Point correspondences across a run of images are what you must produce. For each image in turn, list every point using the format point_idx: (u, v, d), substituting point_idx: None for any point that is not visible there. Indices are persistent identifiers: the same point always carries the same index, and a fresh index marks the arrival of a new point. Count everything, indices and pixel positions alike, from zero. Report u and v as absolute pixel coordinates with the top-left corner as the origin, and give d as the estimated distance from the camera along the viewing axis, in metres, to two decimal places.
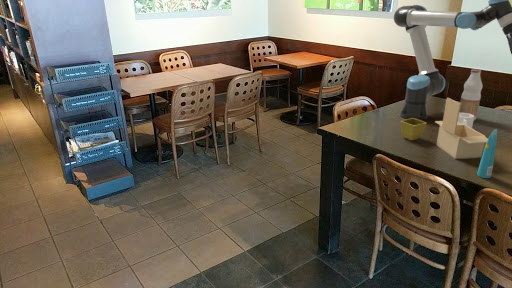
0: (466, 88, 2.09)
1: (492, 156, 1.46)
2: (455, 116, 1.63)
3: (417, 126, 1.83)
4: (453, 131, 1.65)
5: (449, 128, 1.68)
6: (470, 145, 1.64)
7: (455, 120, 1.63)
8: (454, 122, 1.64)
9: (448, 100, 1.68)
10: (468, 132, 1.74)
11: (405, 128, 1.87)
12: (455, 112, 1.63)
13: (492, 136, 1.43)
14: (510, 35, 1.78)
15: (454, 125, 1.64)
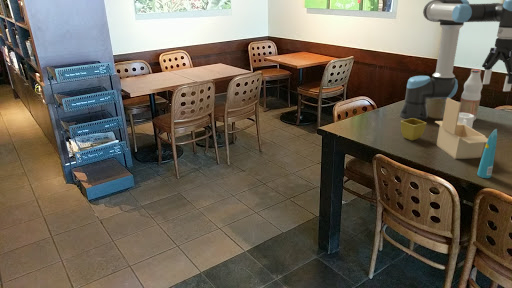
0: (466, 88, 2.09)
1: (492, 156, 1.46)
2: (455, 116, 1.63)
3: (417, 126, 1.83)
4: (453, 131, 1.65)
5: (449, 128, 1.68)
6: (470, 145, 1.64)
7: (455, 120, 1.63)
8: (454, 122, 1.64)
9: (448, 100, 1.68)
10: (468, 132, 1.74)
11: (405, 128, 1.87)
12: (455, 112, 1.63)
13: (492, 136, 1.43)
14: None
15: (454, 125, 1.64)
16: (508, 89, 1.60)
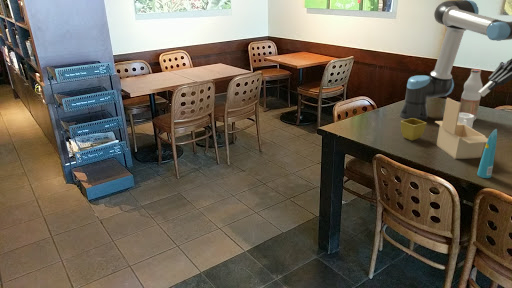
0: (466, 88, 2.09)
1: (492, 156, 1.46)
2: (455, 116, 1.63)
3: (417, 126, 1.83)
4: (453, 131, 1.65)
5: (449, 128, 1.68)
6: (470, 145, 1.64)
7: (455, 120, 1.63)
8: (454, 122, 1.64)
9: (448, 100, 1.68)
10: (468, 132, 1.74)
11: (405, 128, 1.87)
12: (455, 112, 1.63)
13: (492, 136, 1.43)
14: None
15: (454, 125, 1.64)
16: (483, 94, 1.63)
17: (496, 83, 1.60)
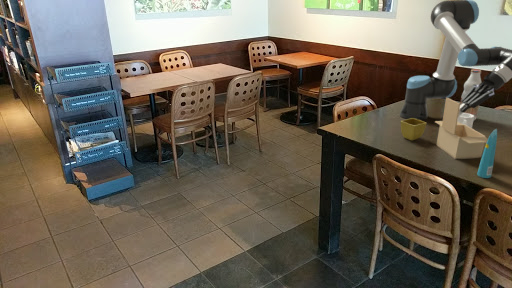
0: (466, 88, 2.09)
1: (492, 156, 1.46)
2: (455, 116, 1.63)
3: (417, 126, 1.83)
4: (453, 131, 1.65)
5: (449, 128, 1.68)
6: (470, 145, 1.64)
7: (455, 120, 1.63)
8: (454, 122, 1.64)
9: (447, 100, 1.68)
10: (468, 132, 1.74)
11: (405, 128, 1.87)
12: (454, 112, 1.63)
13: (492, 136, 1.43)
14: None
15: (454, 125, 1.64)
16: None
17: (468, 106, 1.63)
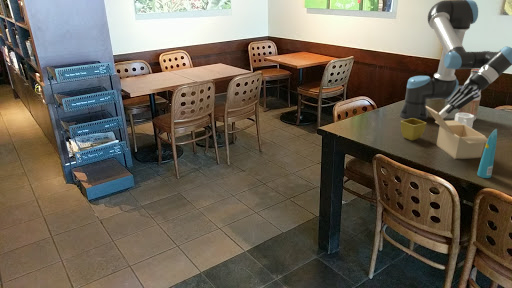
0: None
1: (492, 156, 1.46)
2: (442, 122, 1.64)
3: (417, 126, 1.83)
4: (451, 132, 1.65)
5: (446, 129, 1.68)
6: (470, 145, 1.64)
7: (445, 124, 1.64)
8: (445, 126, 1.64)
9: (428, 109, 1.69)
10: (468, 132, 1.74)
11: (405, 128, 1.87)
12: (439, 119, 1.64)
13: (492, 136, 1.43)
14: None
15: (447, 128, 1.64)
16: (442, 117, 1.66)
17: (453, 107, 1.63)
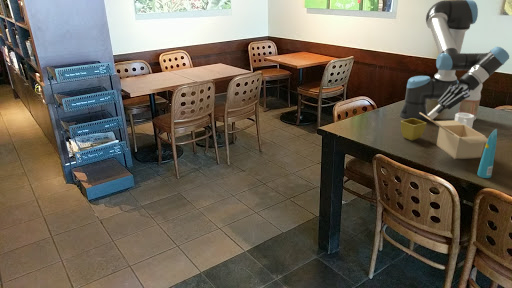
0: None
1: (492, 156, 1.46)
2: (438, 125, 1.64)
3: (417, 126, 1.83)
4: (450, 133, 1.65)
5: None
6: (470, 145, 1.64)
7: (442, 128, 1.64)
8: (443, 128, 1.65)
9: None
10: (468, 132, 1.74)
11: (405, 128, 1.87)
12: None
13: (492, 136, 1.43)
14: None
15: (445, 130, 1.65)
16: (432, 117, 1.66)
17: (444, 107, 1.63)
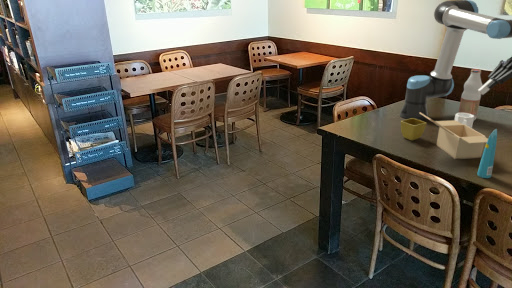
0: (466, 88, 2.09)
1: (492, 156, 1.46)
2: (438, 125, 1.64)
3: (417, 126, 1.83)
4: (450, 133, 1.65)
5: None
6: (470, 145, 1.64)
7: (442, 128, 1.64)
8: (443, 128, 1.65)
9: None
10: (468, 132, 1.74)
11: (405, 128, 1.87)
12: None
13: (492, 136, 1.43)
14: None
15: (445, 130, 1.65)
16: (483, 92, 1.63)
17: (496, 81, 1.60)
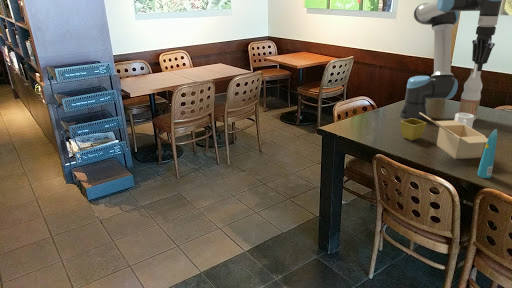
0: (466, 88, 2.09)
1: (492, 156, 1.46)
2: (438, 125, 1.64)
3: (417, 126, 1.83)
4: (450, 133, 1.65)
5: None
6: (470, 145, 1.64)
7: (442, 128, 1.64)
8: (443, 128, 1.65)
9: None
10: (468, 132, 1.74)
11: (405, 128, 1.87)
12: None
13: (492, 136, 1.43)
14: None
15: (445, 130, 1.65)
16: (478, 76, 1.78)
17: (481, 64, 1.74)
